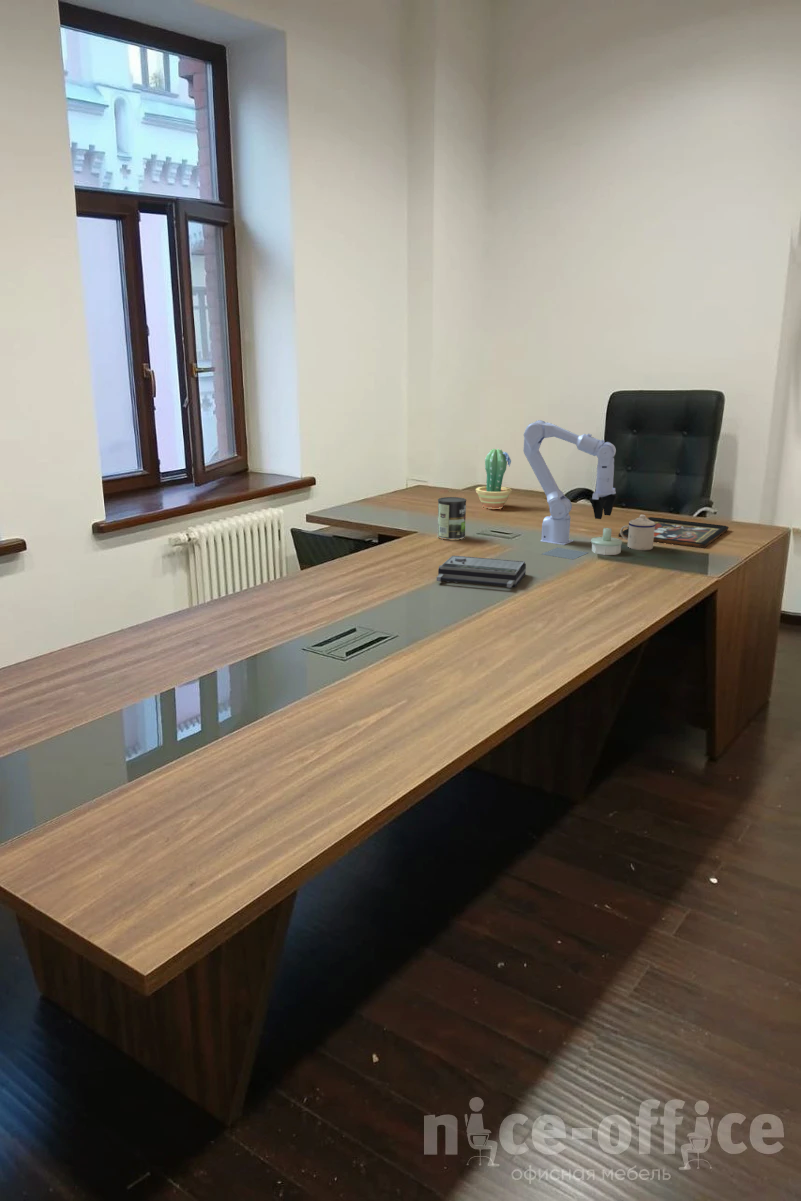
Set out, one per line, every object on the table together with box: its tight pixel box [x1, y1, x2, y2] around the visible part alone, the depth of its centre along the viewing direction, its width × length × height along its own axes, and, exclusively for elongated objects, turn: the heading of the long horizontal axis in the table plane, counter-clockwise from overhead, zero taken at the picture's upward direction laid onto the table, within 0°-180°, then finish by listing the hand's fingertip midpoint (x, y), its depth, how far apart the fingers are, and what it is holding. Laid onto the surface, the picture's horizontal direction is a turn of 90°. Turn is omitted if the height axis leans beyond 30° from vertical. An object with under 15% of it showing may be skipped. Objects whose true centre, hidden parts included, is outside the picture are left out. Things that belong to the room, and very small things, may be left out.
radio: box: [436, 555, 527, 588], centre depth 273 cm, size 24×5×20 cm
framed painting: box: [618, 516, 729, 549], centre depth 335 cm, size 38×35×3 cm
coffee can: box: [437, 496, 467, 539], centre depth 326 cm, size 10×10×14 cm
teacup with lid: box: [619, 514, 655, 551], centre depth 313 cm, size 12×9×12 cm
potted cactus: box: [475, 448, 513, 508], centre depth 379 cm, size 15×15×25 cm
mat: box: [541, 547, 590, 560], centre depth 304 cm, size 12×12×1 cm
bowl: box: [591, 543, 622, 556], centre depth 306 cm, size 9×9×4 cm
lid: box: [590, 527, 623, 546], centre depth 305 cm, size 10×10×5 cm
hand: (602, 516), depth 313 cm, fingers open, 7 cm apart
